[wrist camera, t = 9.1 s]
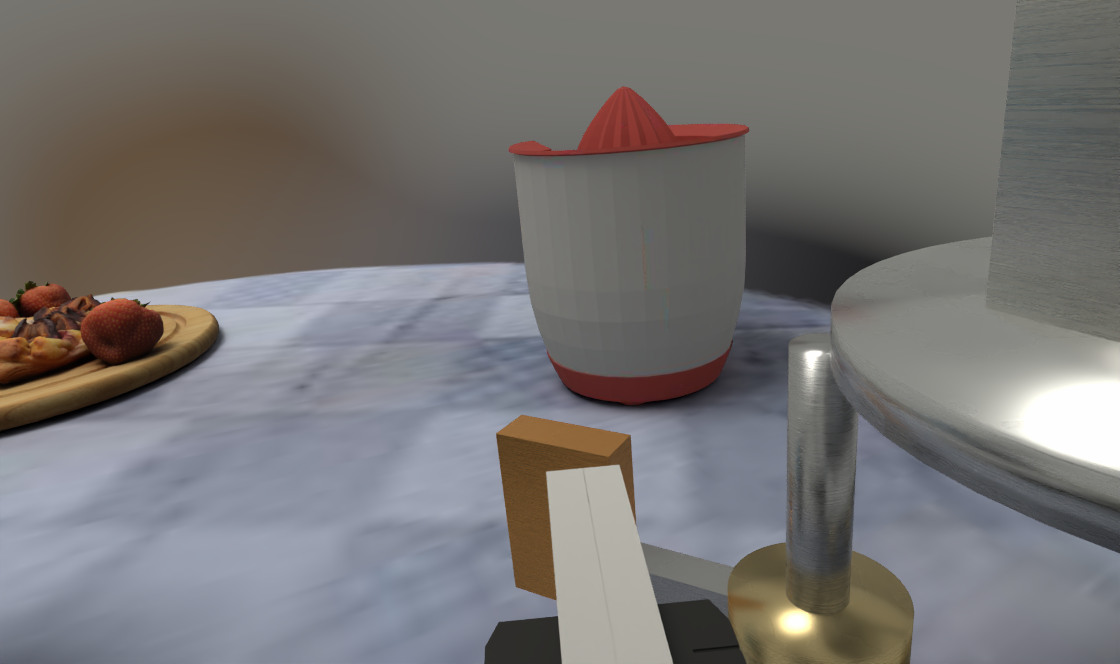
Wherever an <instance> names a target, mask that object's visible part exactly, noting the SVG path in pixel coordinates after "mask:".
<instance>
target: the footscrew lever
mask: <svg viewBox="0 0 1120 664" xmlns="http://www.w3.org/2000/svg"><path fill="white" fill-rule="evenodd" d="M830 337H831V334H830V333H814V334H806V335H801V336H798V337H795V338H793V339H792V340H790V342H789V354H788V429H787V505H786V543H779V544H774V545H770V546H767V547H763V548H761V549H758V550H756V551H754V552H752V553H750V554H748V555H747V556H746V557H744V558H743V559H742V560H740V562H739V563H738V564H737V565H736V566H735V567H730V566H727V565H723V564H719V563H715V562H712V561H708V560H704V559H700V558H697V557H693V556H689V555H686V554H682V553H678V552H674V551H671V550H667V549H663V548H659V547H656V546H652V545H648V544H644V543H641V542H640V543H641V547H642V550H643V554H644V558H645V561H646V565H647V569H648V572H649V576H650V580H651V583H652V587H653V591H654V595H655V598H656V602H657V604H664V603H674V602H684V601H694V600H703V599H709V600H710V601H711V602H712V603H713V604H714V605H715V606H716V607H717V608H718V609H719V610H720V611H721V612H722V613H723V614H724V615H725V616H726V617H727V618H728V619H729V620H730V622H731V625H732V628H733V630H734V633H735V635H736V638H737V640H738V643H739V647H740V650H742V653H743V655H744V658H745V660H746V663H747V664H910V656H911V644H912V632H913V620H914V607H913V603H912V600H911V597H910V595H909V593H908V591H907V589H906V588H905V586H904V585H903V584H902V583H901V581H900V580H899V579H898V578H897V577H896V576H895V575H894V574H893V573H891V572H890V571H889V570H888V569H886V568H885V567H884V566H882V565H881V564H879V563H878V562H876V561H874V560H872V559H870V558H868V557H866V556H864V555H862V554H860V553H857V552H855V551H852V538H853V517H854V496H855V475H856V454H857V433H858V412H857V411H856V410H855V409H854V408H853V406H852V405H851V404H850V402H849V401H848V400H847V399H846V397H845V396H844V395H843V394H842V392H841V391H840V390H839V387H838V385H837V383H836V380H835V378H834V376H833V374H832V371H831V361H830ZM496 437H497V445H498V453H499V461H500V468H501V476H502V484H503V492H504V499H505V507H506V515H507V523H508V530H509V538H510V546H511V554H512V561H513V569H514V577H515V585H516V587H518V588H521V589H524V590H527V591H530V592H533V593H536V594H539V595H542V596H545V597H548V598H551V599H554V600H557V597H556V585H555V573H554V561H553V549H552V537H551V525H550V513H549V501H548V489H547V477H546V472H547V471H558V470H568V469H579V468H590V467H600V466H611V465H620V469H621V473H622V476H623V480H624V484H625V488H626V491H627V495H628V499H629V502H630V506H631V510H632V513H633V517H634V521H635V524H636V514H635V499H634V483H633V467H632V451H631V435H628V434H622V433H617V432H611V431H606V430H601V429H595V428H590V427H584V426H579V425H574V424H568V423H563V422H557V421H552V420H547V419H541V418H536V417H531V416H525V415H521V416H519V417H518V418H517V419H515V420H514V421H513V422H511V423H510V424H509V425H507V426H506V427H504V428H503V429H502V430H500V431H499V432H498V433H496Z"/></svg>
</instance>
